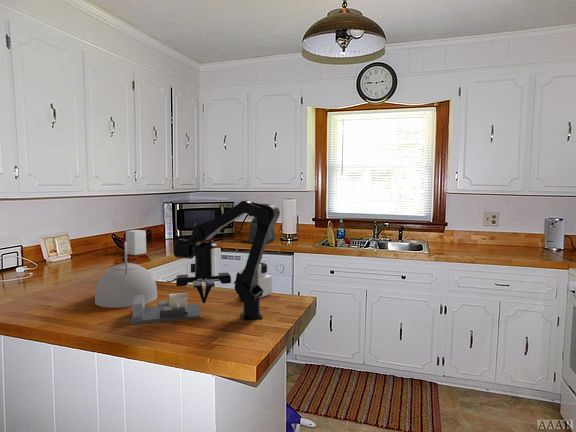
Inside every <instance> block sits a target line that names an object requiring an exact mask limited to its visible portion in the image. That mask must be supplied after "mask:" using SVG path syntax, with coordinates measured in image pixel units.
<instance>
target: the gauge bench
mask: <svg viewBox="0 0 576 432" xmlns="http://www.w3.org/2000/svg"><path fill="white" fill-rule="evenodd" d="M131 308H132V311H131V312H132V316H131V318H130V323H129V324H130V325H138V324H149V323H160V322H162V323H163V322H172V321H174V322H175V321H184V320H196V319H197V320H198V319H201V311H200V306H199V302H198V303H197V302H196V303H188V312H185V307H180V308H172V307H169V306H160V307H157V305H156V306H155V305H154V306H146V304H145V295H136V296H135V298H134V301H133V304H132V306H131Z"/></svg>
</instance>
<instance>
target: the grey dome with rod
mask: <svg viewBox="0 0 576 432" xmlns="http://www.w3.org/2000/svg"><path fill="white" fill-rule="evenodd" d="M123 249H124V256H123V257H122V261H123V263H120V264H117V265H114V266H111V268H109V269H108V270H106V271H105V272H104V273H103V274H102V275H101V277H100V278H99V280H98V281H97V283H96V287H95V291H94V304H95V305H96V306H99V307H103V308H111V309H113V308H115V309H117V308H119V309H120V308H129V307H131V308H132V304H133V301H134V298H135V296H136V295H145V305H146V304H148V303H152V302H153V301H155V300H156V299H157V298H158V288H157V283H156V280H155V278H154V277H153V275H152V274H151V272H150V271H149V270H148V269H146V268H145V267H143V266H141V265H140V264H137V263H131V262H129V261H130V257H129V256H128V254H127V242H126V241H124V248H123Z"/></svg>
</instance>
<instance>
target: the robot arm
mask: <svg viewBox="0 0 576 432" xmlns="http://www.w3.org/2000/svg"><path fill="white" fill-rule="evenodd" d="M263 204H264V203H257V202H254V201H250V200H241V201H240V202H238V204H236V205H234V206H233V207H231V208H229V209H227V210H226V211H225V212H223V213H222V214H219V215H218V216H216V217H215V218H212V219H211V220H208V221H205V222H202V223H199V224H197V225H195V226H194V227H193V228H192V231H191V234H190V235H189V238H187V239H185V238H179V239H176V243H175V245H174V247H173V255H174V257H175V259H177V258H178V259H189V260H190V259H193V258H195V259H194V263H190V273H191V274H193V273H194V276H189V275H188V274H177V275H176V277H175V286H176V287H186V286H187V285H188V284H189V283H192V287H193V288H194V289H195V288H196V290H197V291H198V293H199V296H200V299H201V302H202V304H206V302H207V299H208V296H209V293H210V291H211V290H212V287H216V285H215V282H220V283H221V285H222V284H223V285H225V284H232V277H231V274H230V273H229V272H218V275H213V260H212V259H213V257H212V255H213V254H212V253H213V252H212V251H213V248H217V247H218V246H219V245H218V244H217V243H216V242H215V241H214V240H211V239H213V238H214V237H215V236H216V235H217V234H218V233H219V231H221V229H223V228H224V227H226V226H227V225H229V224H230V223H232V222H234V221H235V220H237V219H239V218H240V217H242V216H243V215H245V214H247V215H249V216H251V217H253V218H254V217H257V219H256V224H257V231H256V234H255V237H254V240H253V243H251V248H250V251H249V254H248V257H247V259H246V264H245V267H244V268H243V269H242V270H240V271H237V272H236V276H235V280H234V281H233V285H234V291H235V292H236V293H237V296H238V298H239V301H240V302H241V303H242V312H240V315H241V318H242V319H243V320H244V321H249V320H250V321H251V320H260V319H263V315H262V314H261V308H260V307H261V298H262V297H261V296H262V294H263V292H264V291H263V289H262V288H261V287H260V286H259V285H258V284H257V283H258V268H259V264H260V262H261V260H262V258H263V255H264V252H265V247H266V246H267V244H266V242H267V239H268V236H269V233H270V231H271V230H272V228H273V227H274V228H275V225H276V223H277V222H278V220H279V218H280V216H281V214H280V213H281V212H280V211H281V210H280V209H279V207H278V206H277V205H275V204H269V205H263ZM207 240H209V241H207ZM198 243H199V244H198ZM204 282H205V283H204ZM202 283H204V291H203V284H202ZM259 297H260V298H259Z"/></svg>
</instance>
